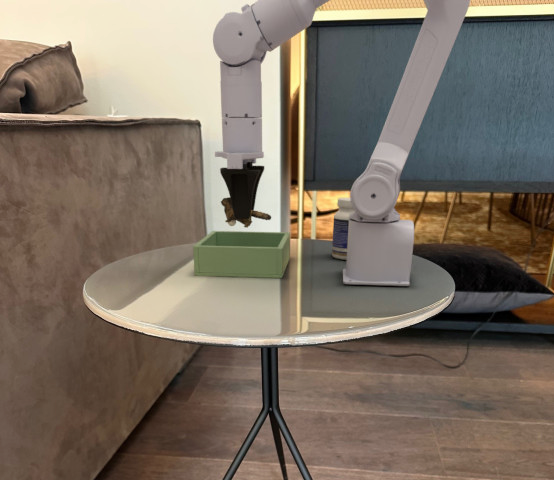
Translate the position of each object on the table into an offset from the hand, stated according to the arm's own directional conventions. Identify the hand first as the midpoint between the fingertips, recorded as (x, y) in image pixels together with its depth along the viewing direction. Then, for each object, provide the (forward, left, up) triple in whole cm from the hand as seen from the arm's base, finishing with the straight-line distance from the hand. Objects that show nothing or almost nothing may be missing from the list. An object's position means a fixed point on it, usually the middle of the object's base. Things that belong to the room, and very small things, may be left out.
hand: (244, 216), depth 80 cm
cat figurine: (0, 0, -2) cm, 2 cm away
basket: (+1, -3, -8) cm, 9 cm away
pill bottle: (-17, -12, -9) cm, 22 cm away
